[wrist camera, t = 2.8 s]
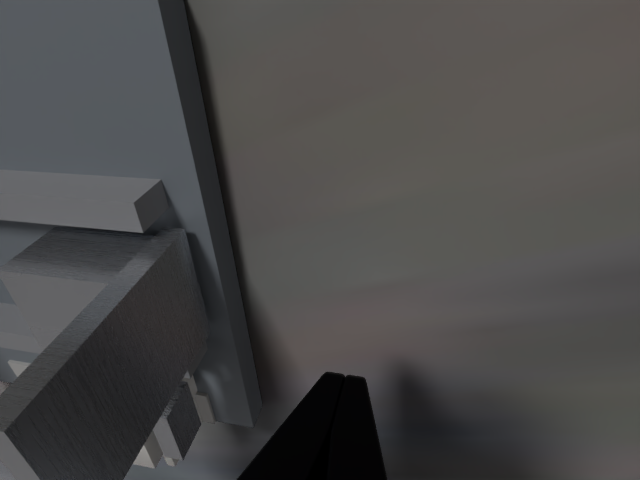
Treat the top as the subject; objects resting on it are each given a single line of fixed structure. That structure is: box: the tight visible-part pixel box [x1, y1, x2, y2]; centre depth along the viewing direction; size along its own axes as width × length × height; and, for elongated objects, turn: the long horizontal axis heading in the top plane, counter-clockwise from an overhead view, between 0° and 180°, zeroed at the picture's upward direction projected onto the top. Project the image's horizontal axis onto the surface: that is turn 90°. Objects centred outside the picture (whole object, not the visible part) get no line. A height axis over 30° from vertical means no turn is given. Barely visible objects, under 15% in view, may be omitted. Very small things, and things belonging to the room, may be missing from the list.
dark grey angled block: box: [0, 227, 211, 480], centre depth 11 cm, size 4×6×6 cm, turn 3°
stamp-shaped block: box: [133, 375, 198, 469], centre depth 14 cm, size 1×4×3 cm, turn 2°
